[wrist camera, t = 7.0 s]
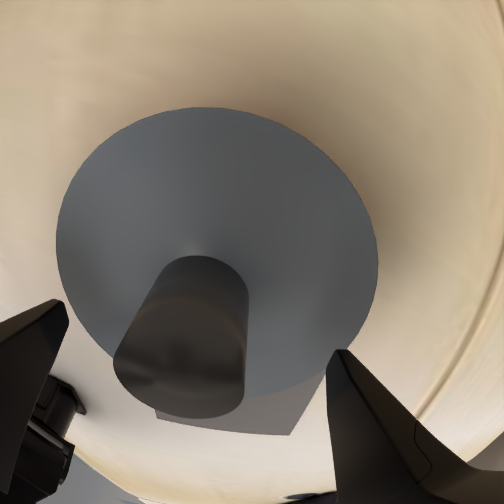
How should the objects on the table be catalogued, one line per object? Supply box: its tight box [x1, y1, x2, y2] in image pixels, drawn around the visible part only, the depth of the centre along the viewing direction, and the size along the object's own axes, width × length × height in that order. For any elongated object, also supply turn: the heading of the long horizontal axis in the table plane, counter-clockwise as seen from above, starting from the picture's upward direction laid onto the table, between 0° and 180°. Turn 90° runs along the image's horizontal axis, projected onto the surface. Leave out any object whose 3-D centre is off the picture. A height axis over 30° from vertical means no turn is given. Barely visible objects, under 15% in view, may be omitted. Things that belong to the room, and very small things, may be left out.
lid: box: [56, 108, 378, 419], centre depth 8 cm, size 13×13×5 cm
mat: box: [155, 368, 326, 435], centre depth 21 cm, size 14×14×1 cm
